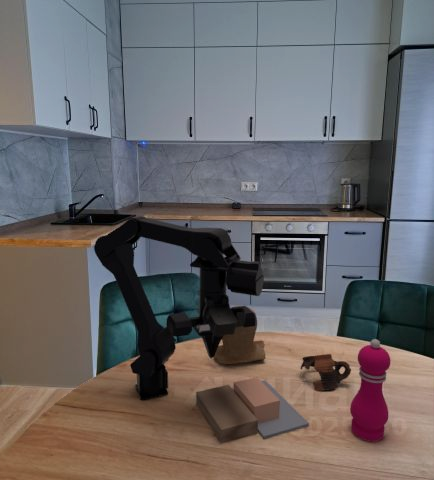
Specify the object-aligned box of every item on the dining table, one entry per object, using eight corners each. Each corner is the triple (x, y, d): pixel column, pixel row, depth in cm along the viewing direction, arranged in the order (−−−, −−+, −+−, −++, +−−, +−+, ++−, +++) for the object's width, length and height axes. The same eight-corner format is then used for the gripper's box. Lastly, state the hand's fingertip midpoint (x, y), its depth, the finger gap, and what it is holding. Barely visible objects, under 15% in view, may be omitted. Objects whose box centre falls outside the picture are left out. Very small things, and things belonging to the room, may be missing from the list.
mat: (263, 439, 78) (263, 436, 78) (226, 391, 95) (226, 389, 94) (308, 425, 83) (309, 423, 82) (265, 382, 99) (265, 380, 99)
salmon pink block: (254, 406, 81) (279, 400, 83) (233, 382, 90) (257, 377, 92) (254, 424, 82) (279, 417, 84) (233, 398, 91) (256, 392, 93)
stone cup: (219, 372, 103) (220, 318, 100) (210, 351, 115) (211, 302, 112) (274, 367, 106) (277, 314, 103) (261, 347, 118) (262, 299, 115)
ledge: (221, 443, 77) (221, 429, 76) (196, 404, 90) (196, 391, 89) (257, 433, 80) (258, 419, 79) (228, 396, 93) (228, 384, 92)
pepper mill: (382, 448, 76) (392, 351, 72) (344, 434, 80) (352, 341, 76) (389, 428, 82) (398, 337, 78) (353, 416, 86) (360, 329, 82)
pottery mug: (302, 393, 95) (296, 357, 98) (307, 390, 104) (301, 357, 107) (354, 388, 92) (347, 351, 95) (354, 385, 101) (347, 352, 103)
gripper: (180, 306, 73) (179, 383, 76) (270, 296, 80) (266, 368, 83) (166, 288, 83) (165, 357, 86) (246, 280, 90) (244, 345, 93)
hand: (211, 357), depth 87 cm, fingers closed
